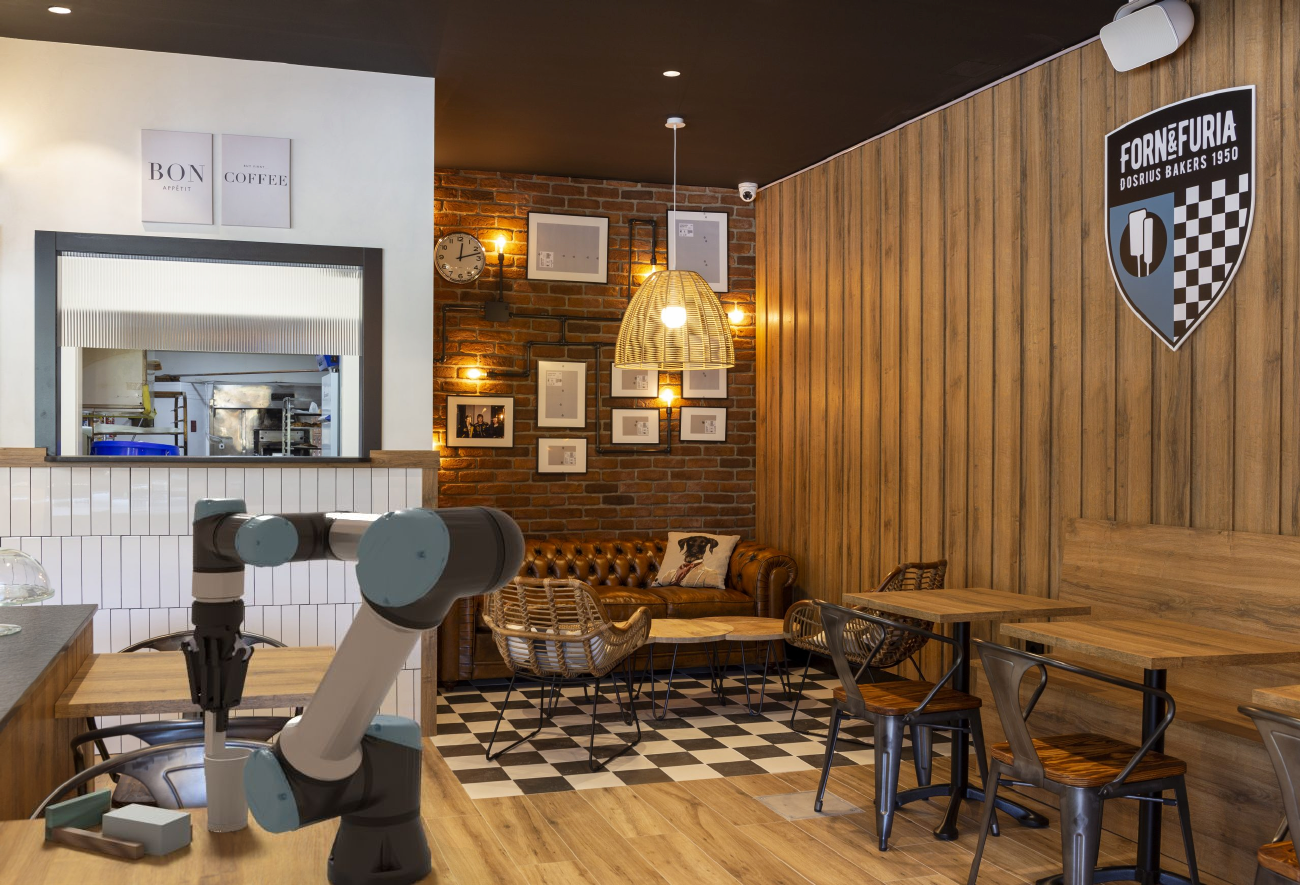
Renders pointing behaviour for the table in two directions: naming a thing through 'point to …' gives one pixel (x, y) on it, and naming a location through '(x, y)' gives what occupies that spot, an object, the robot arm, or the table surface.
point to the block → (149, 827)
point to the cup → (226, 789)
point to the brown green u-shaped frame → (88, 825)
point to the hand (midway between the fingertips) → (214, 752)
